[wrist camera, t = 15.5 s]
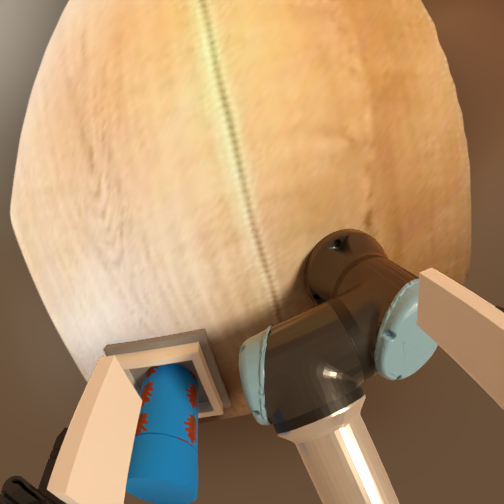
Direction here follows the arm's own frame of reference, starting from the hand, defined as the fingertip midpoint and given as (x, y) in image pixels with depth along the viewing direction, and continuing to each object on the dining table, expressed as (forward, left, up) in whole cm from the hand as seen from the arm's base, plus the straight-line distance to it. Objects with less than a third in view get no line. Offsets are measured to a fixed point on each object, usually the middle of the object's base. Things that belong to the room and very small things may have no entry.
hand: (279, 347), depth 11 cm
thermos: (+3, +35, -33) cm, 48 cm away
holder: (+3, +35, -35) cm, 49 cm away
